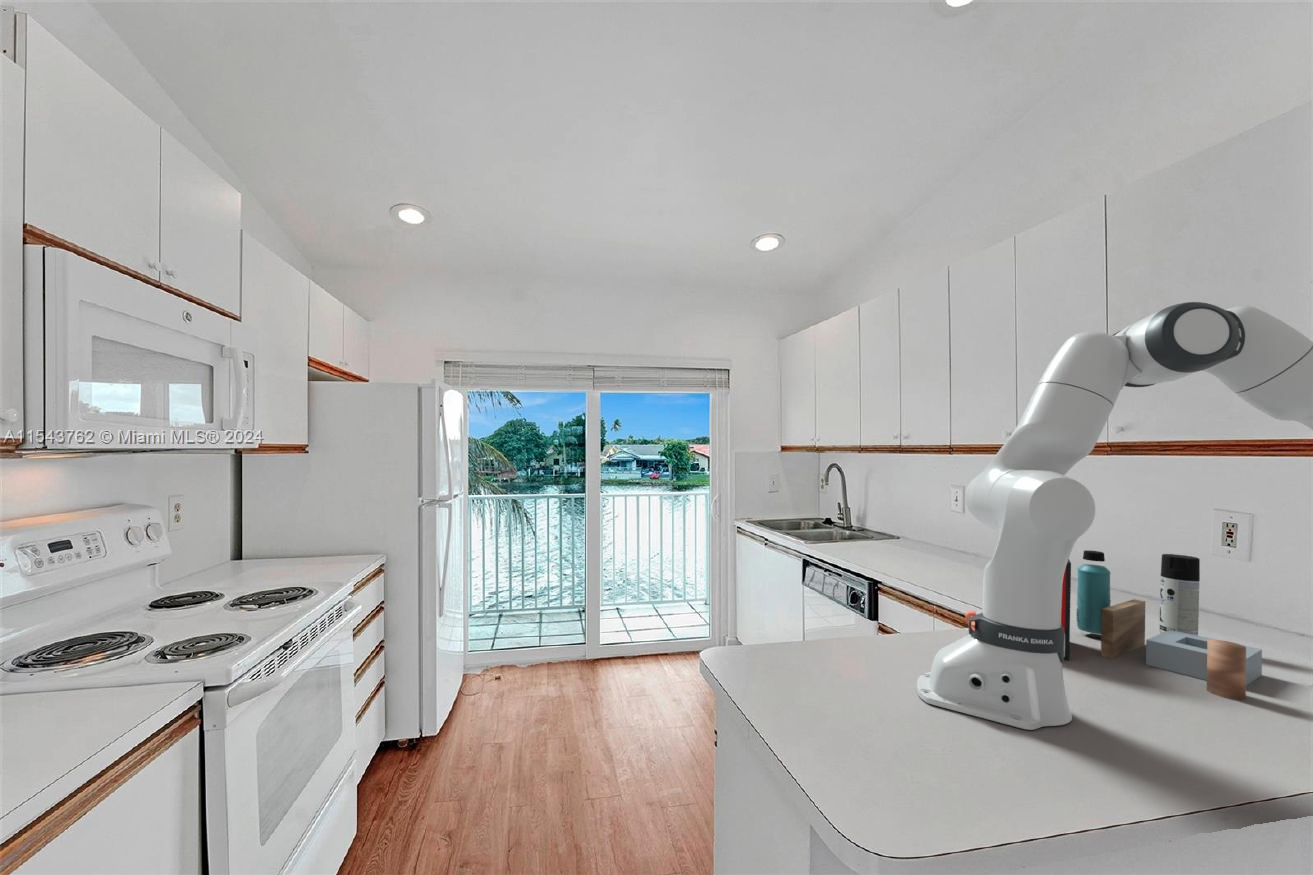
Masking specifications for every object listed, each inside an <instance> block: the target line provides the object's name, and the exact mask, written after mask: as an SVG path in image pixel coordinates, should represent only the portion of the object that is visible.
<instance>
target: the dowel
mask: <svg viewBox="0 0 1313 875" xmlns="http://www.w3.org/2000/svg"><path fill="white" fill-rule="evenodd" d="M1245 646H1246V645H1244V646H1243V644H1240V643H1236V642H1233V641H1229V640H1228V641H1226V640H1220V639H1215V640H1207V680H1206V691H1207V692H1208V693H1210V694H1212V695H1214V696H1218V697H1221V698H1225V699H1230V700H1235V701H1238V700H1239V701H1244V700H1247V699H1246V697H1247V696H1246V695H1247V692H1246V691H1247V688H1246V687H1247V686H1246V647H1245Z"/></svg>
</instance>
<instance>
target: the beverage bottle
mask: <svg viewBox="0 0 1313 875" xmlns="http://www.w3.org/2000/svg"><path fill="white" fill-rule="evenodd" d="M1082 555H1083V556H1082V559H1083V560H1086V561H1091V562H1100V563H1101V562H1105V561H1106V560H1105V559H1106V558H1105V552H1103V551H1097V550H1090V549H1089V550H1087V549H1086V550H1083V554H1082ZM1076 593H1077V597H1076V598H1077V599H1076V606H1077V607H1076V626H1077V629H1078V630H1080V631H1083V632H1085V633H1091V634H1096V635H1101V628H1102V609H1103V608H1106V607H1109V606H1112V603H1111V601H1112V600H1111V570H1109V569H1108V568H1107V567H1106V566H1103V565H1098V564H1089V563H1083V564H1081V565H1080V566H1078V568H1077V592H1076Z"/></svg>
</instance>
